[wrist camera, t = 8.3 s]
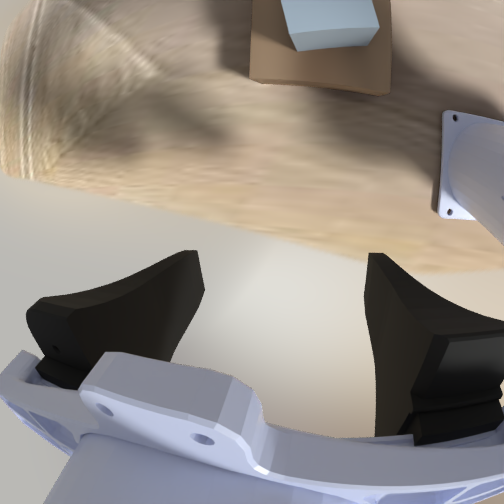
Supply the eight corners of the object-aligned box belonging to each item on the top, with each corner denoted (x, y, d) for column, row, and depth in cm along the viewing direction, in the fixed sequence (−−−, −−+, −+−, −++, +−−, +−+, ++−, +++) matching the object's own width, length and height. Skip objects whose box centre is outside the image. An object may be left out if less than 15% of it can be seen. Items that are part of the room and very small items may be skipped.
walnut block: (378, -2, 13) (388, -23, 9) (377, 96, 17) (390, 92, 13) (266, -11, 14) (253, -33, 11) (262, 84, 18) (249, 78, 15)
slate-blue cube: (350, -12, 11) (356, -41, 7) (367, 46, 12) (379, 27, 9) (283, -6, 12) (271, -34, 8) (297, 51, 13) (289, 34, 10)
